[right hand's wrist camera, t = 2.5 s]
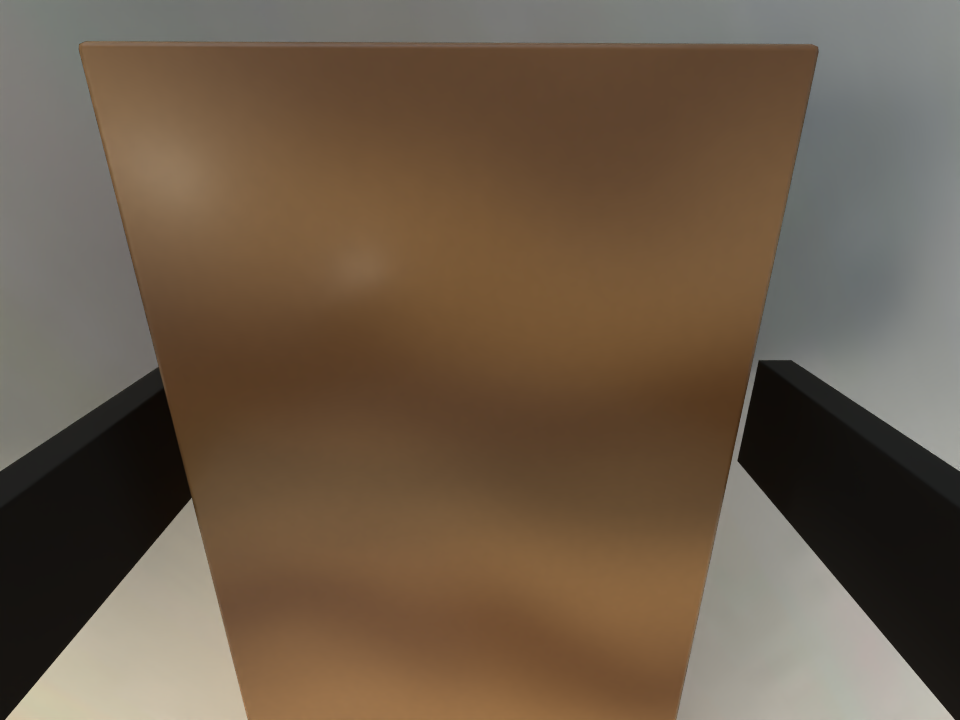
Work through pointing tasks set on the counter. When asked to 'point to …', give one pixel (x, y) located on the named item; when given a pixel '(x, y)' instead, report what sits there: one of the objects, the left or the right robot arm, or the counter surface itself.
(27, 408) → the counter surface
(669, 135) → the wooden beam
